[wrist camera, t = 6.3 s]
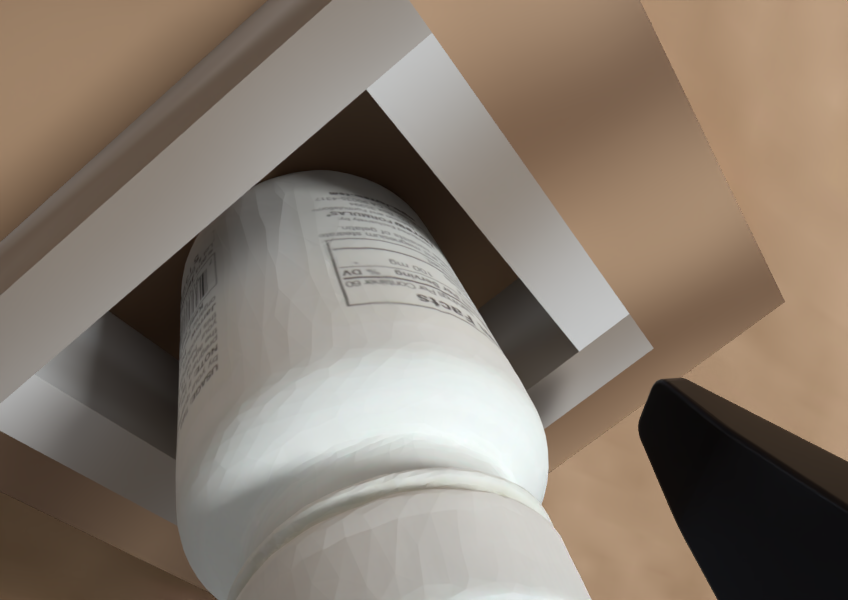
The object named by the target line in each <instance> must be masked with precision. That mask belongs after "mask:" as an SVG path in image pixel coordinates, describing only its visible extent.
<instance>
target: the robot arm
mask: <svg viewBox="0 0 848 600" xmlns="http://www.w3.org/2000/svg"><path fill="white" fill-rule="evenodd" d="M638 431H639V436H640V439H641V442H642V444H643V446H644V449H645V451H646V453H647V456H648V458H649V460H650V463H651V465H652V467H653V470H654V472H655V474H656V477H657V479H658V482H659V484H660V486H661V489H662V491H663V493H664V496H665V498H666V500H667V503H668V505H669V507H670V510H671V512H672V514H673V516H674V519H675V521H676V523H677V525H678V527H679V529H680V531H681V533H682V535H683V537H684V539H685V541H686V543H687V545H688V546H689V548H690V550H691V552H692V554H693V556H694V557H695V559H696V561H697V563H698V565H699V567H700V568H701V570H702V572H703V574H704V576H705V578H706V579H707V581H708V583H709V585H710V587H711V589H712V590H713V592H714V594H715V596H716V598H717V600H848V462H847V461H845V460H844V459H842V458H840V457H838V456H836V455H834V454H832V453H830V452H828V451H826V450H824V449H822V448H820V447H818V446H816V445H814V444H812V443H810V442H808V441H806V440H804V439H802V438H800V437H798V436H797V435H795V434H793V433H791V432H789V431H787V430H785V429H783V428H781V427H779V426H777V425H775V424H773V423H771V422H769V421H767V420H765V419H763V418H761V417H759V416H757V415H755V414H753V413H751V412H750V411H748V410H746V409H744V408H742V407H740V406H738V405H736V404H734V403H732V402H730V401H728V400H726V399H724V398H722V397H720V396H718V395H716V394H714V393H712V392H710V391H708V390H706V389H705V388H703V387H701V386H699V385H697V384H695V383H693V382H691V381H689V380H687V379H684V378H666V379H660V380H657V381H656V382H655V383H654V384H653V386H652V388H651V390H650V393H649V396H648V398H647V401H646V404H645V406H644V409H643V411H642V414H641V417H640V419H639V424H638Z"/></svg>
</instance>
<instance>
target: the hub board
mask: <svg viewBox="0 0 848 600" xmlns="http://www.w3.org/2000/svg"><path fill="white" fill-rule="evenodd" d="M311 170H330V171H337V172H342V173H347V174H351V175H355V176H358V177H361V178H364V179H367V180H369V181H372V182H374V183H377V184H379V185H381V186H382V187H384V188H386V189H388V190H389V191H391V192H392V193H394V194H395V195H397V196H398V197H399V198H401V199H402V200H403V201H404V202H405V203H407V204H408V205H409V206H410V207H411V208H412V210H413V211H414V212H415V213H416V214H417V215H418V216H419V218H420V219H421V221H422V222H423V223H424V225H425V226H426V228H427V229H428V231H429V233H430V234H431V236H432V237H433V239H434V240H435V241H436V243H437V244H438V246H439V248H440V249H441V251H442V253H443V254H444V256H445V258H446V260H447V261H448V263H449V264H450V266H451V268H452V269H453V271H454V273H455V275H456V276H457V278H458V279H459V281H460V283H461V284H462V286H463V288H464V289H465V291H466V292H467V294H468V296H469V297H470V299H471V300H472V302H473V304H474V305H475V307H476V309H477V310H478V312H479V314H480V315H481V317H482V318H483V320H484V322H485V324H486V325H487V327H488V329H489V330H490V332H491V334H492V335H493V337H494V339H495V340H496V342H497V344H498V345H499V347H500V349H501V350H502V352H503V353H504V355H505V357H506V358H507V359H508V361H509V363H510V364H511V366H512V368H513V369H514V371H515V373H516V374H517V376H518V377H519V379H520V381H521V383H522V384H523V386H524V388H525V390H526V392H527V393H528V395H529V397H530V399H531V401H532V402H533V404H534V406H535V408H536V410H537V412H538V414H539V417H540V419H541V422H542V425H543V428H544V432H545V435H546V441H547V447H548V464H549V469H548V473H550V472H551V471H552V470H554V469H555V468H557V467H558V466H559V465H561V464H562V463H564V462H565V461H566V460H568V459H569V458H570V457H572V456H573V455H575V454H576V453H577V452H579V451H580V450H581V449H583V448H584V447H586V446H587V445H588V444H590V443H591V442H592V441H594V440H595V439H597V438H598V437H599V436H601V435H602V434H603V433H605V432H606V431H608V430H609V429H610V428H612V427H613V426H615V425H616V424H617V423H619V422H620V421H621V420H623V419H624V418H626V417H627V416H628V415H630V414H631V413H632V412H634V411H635V410H637V409H638V408H639V407H641V406H642V405H643V404H645V403H646V401H647V398H648V396H649V393H650V390H651V388H652V386H653V384H654V383H655V382H656V381H657V380H660V379H666V378H681V377H682V376H683V375H685V374H686V373H688V372H689V371H690V370H692V369H693V368H694V367H696V366H697V365H699V364H700V363H701V362H703V361H704V360H705V359H707V358H708V357H710V356H711V355H712V354H714V353H715V352H716V351H718V350H719V349H721V348H722V347H723V346H725V345H726V344H728V343H729V342H730V341H732V340H733V339H734V338H736V337H737V336H739V335H740V334H741V333H743V332H744V331H745V330H747V329H748V328H750V327H751V326H752V325H754V324H755V323H756V322H758V321H759V320H761V319H762V318H763V317H765V316H766V315H767V314H769V313H770V312H772V311H773V310H774V309H776V308H777V307H778V306H780V305H781V304H783V303H784V302H785V301H784V299H783V297H782V295H781V292H780V290H779V288H778V286H777V284H776V282H775V280H774V278H773V276H772V274H771V272H770V270H769V268H768V265H767V263H766V261H765V259H764V257H763V255H762V253H761V251H760V249H759V247H758V245H757V243H756V240H755V238H754V236H753V234H752V232H751V230H750V228H749V226H748V224H747V222H746V220H745V218H744V216H743V213H742V211H741V209H740V207H739V205H738V203H737V201H736V199H735V197H734V195H733V193H732V191H731V189H730V186H729V184H728V182H727V180H726V178H725V176H724V174H723V172H722V170H721V168H720V166H719V164H718V162H717V159H716V157H715V155H714V153H713V151H712V149H711V147H710V145H709V143H708V141H707V139H706V137H705V135H704V132H703V130H702V128H701V126H700V124H699V122H698V120H697V118H696V116H695V114H694V112H693V110H692V108H691V105H690V103H689V101H688V99H687V97H686V95H685V93H684V91H683V89H682V87H681V85H680V83H679V81H678V78H677V76H676V74H675V72H674V70H673V68H672V66H671V64H670V62H669V60H668V58H667V56H666V53H665V51H664V49H663V47H662V45H661V43H660V41H659V39H658V37H657V35H656V33H655V31H654V29H653V26H652V24H651V22H650V20H649V18H648V16H647V14H646V12H645V10H644V8H643V6H642V4H641V2H640V0H0V492H2V493H4V494H6V495H8V496H10V497H13V498H15V499H17V500H19V501H21V502H23V503H25V504H27V505H29V506H31V507H33V508H35V509H37V510H39V511H41V512H43V513H46V514H48V515H50V516H52V517H54V518H56V519H58V520H60V521H62V522H64V523H66V524H68V525H70V526H72V527H74V528H77V529H79V530H81V531H83V532H85V533H87V534H89V535H91V536H93V537H95V538H97V539H99V540H101V541H103V542H105V543H108V544H110V545H112V546H114V547H116V548H118V549H120V550H122V551H124V552H126V553H128V554H130V555H132V556H134V557H136V558H139V559H141V560H143V561H145V562H147V563H149V564H151V565H153V566H155V567H157V568H159V569H161V570H163V571H165V572H167V573H169V574H172V575H174V576H176V577H178V578H180V579H182V580H184V581H186V582H188V583H190V584H192V585H194V586H196V587H198V588H200V589H203V590H205V591H207V592H209V591H208V590H207V589H206V588H205V587H204V585H203V584H202V583H201V582H200V580H199V579H198V578H197V576H196V574H195V573H194V571H193V569H192V568H191V566H190V564H189V562H188V560H187V557H186V555H185V553H184V550H183V546H182V543H181V539H180V535H179V531H178V526H177V513H176V448H177V425H178V396H179V350H180V308H181V288H182V278H183V273H184V268H185V263H186V260H187V258H188V255H189V252H190V250H191V248H192V246H193V244H194V242H195V240H196V238H197V236H198V235H199V233H200V232H201V231H202V230H203V229H204V228H205V227H206V226H208V225H209V224H210V223H211V222H212V221H213V220H215V219H216V218H217V217H218V216H219V215H220V214H222V213H223V212H224V211H225V210H226V209H227V208H229V207H230V206H231V205H232V204H233V203H234V202H236V201H237V200H238V199H239V198H240V197H241V196H243V195H244V194H245V193H246V192H247V191H248V190H250V189H251V188H252V187H253V186H255V185H257V184H259V183H261V182H264V181H266V180H269V179H272V178H275V177H278V176H282V175H286V174H290V173H294V172H302V171H311ZM209 593H210V592H209Z"/></svg>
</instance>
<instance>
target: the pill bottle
mask: <svg viewBox="0 0 848 600" xmlns="http://www.w3.org/2000/svg"><path fill="white" fill-rule="evenodd" d="M548 469H549V464H548V447H547V441H546V435H545V432H544V428H543V425H542V422H541V419H540V417H539V414H538V412H537V410H536V408H535V406H534V404H533V402H532V401H531V399H530V397H529V395H528V393H527V392H526V390H525V388H524V386H523V384H522V383H521V381H520V379H519V377H518V376H517V374H516V373H515V371H514V369H513V368H512V366H511V364H510V363H509V361H508V359H507V358H506V357H505V355H504V353H503V352H502V350H501V349H500V347H499V345H498V344H497V342H496V340H495V339H494V337H493V335H492V334H491V332H490V330H489V329H488V327H487V325H486V324H485V322H484V320H483V318H482V317H481V315H480V314H479V312H478V310H477V309H476V307H475V305H474V304H473V302H472V300H471V299H470V297H469V296H468V294H467V292H466V291H465V289H464V288H463V286H462V284H461V283H460V281H459V279H458V278H457V276H456V275H455V273H454V271H453V269H452V268H451V266H450V264H449V263H448V261H447V260H446V258H445V256H444V254H443V253H442V251H441V249H440V248H439V246H438V244H437V243H436V241H435V240H434V239H433V237H432V236H431V234H430V233H429V231H428V229H427V228H426V226H425V225H424V223H423V222H422V221H421V219H420V218H419V216H418V215H417V214H416V213H415V212H414V211H413V210H412V208H411V207H410V206H409V205H408V204H407V203H405V202H404V201H403V200H402V199H401V198H399V197H398V196H397V195H395V194H394V193H392V192H391V191H389V190H388V189H386V188H384V187H382V186H381V185H379V184H377V183H374V182H372V181H369V180H367V179H364V178H361V177H358V176H355V175H351V174H347V173H342V172H337V171H330V170H311V171H302V172H294V173H290V174H286V175H282V176H278V177H275V178H272V179H269V180H266V181H264V182H261V183H259V184H257V185H255V186H253V187H252V188H251V189H250V190H248V191H247V192H246V193H245V194H244V195H243V196H241V197H240V198H239V199H238V200H237V201H236V202H234V203H233V204H232V205H231V206H230V207H229V208H227V209H226V210H225V211H224V212H223V213H222V214H220V215H219V216H218V217H217V218H216V219H215V220H213V221H212V222H211V223H210V224H209V225H208V226H206V227H205V228H204V229H203V230H202V231H201V232H200V233H199V235H198V236H197V238H196V240H195V242H194V244H193V246H192V248H191V250H190V252H189V255H188V258H187V260H186V263H185V268H184V273H183V278H182V288H181V308H180V350H179V396H178V425H177V448H176V513H177V526H178V531H179V535H180V539H181V543H182V546H183V550H184V553H185V555H186V557H187V560H188V562H189V564H190V566H191V568H192V569H193V571H194V573H195V574H196V576H197V578H198V579H199V580H200V582H201V583H202V584H203V585H204V587H205V588H206V589H207V590H208V591H209V592H210V593H211V594H212V595H213V596H214V597H215V598H217V599H218V600H591V598H590V596H589V594H588V592H587V589H586V587H585V585H584V583H583V581H582V579H581V577H580V575H579V573H578V571H577V569H576V567H575V565H574V563H573V561H572V559H571V557H570V555H569V553H568V551H567V549H566V547H565V544H564V542H563V540H562V538H561V536H560V535H559V533H558V532H557V531H556V529H555V528H554V527H553V524H552V522H551V520H550V518H549V516H548V514H547V513H546V511H545V509H544V508H543V507H542V505H541V504H542V501H543V498H544V495H545V490H546V485H547V479H548Z"/></svg>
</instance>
